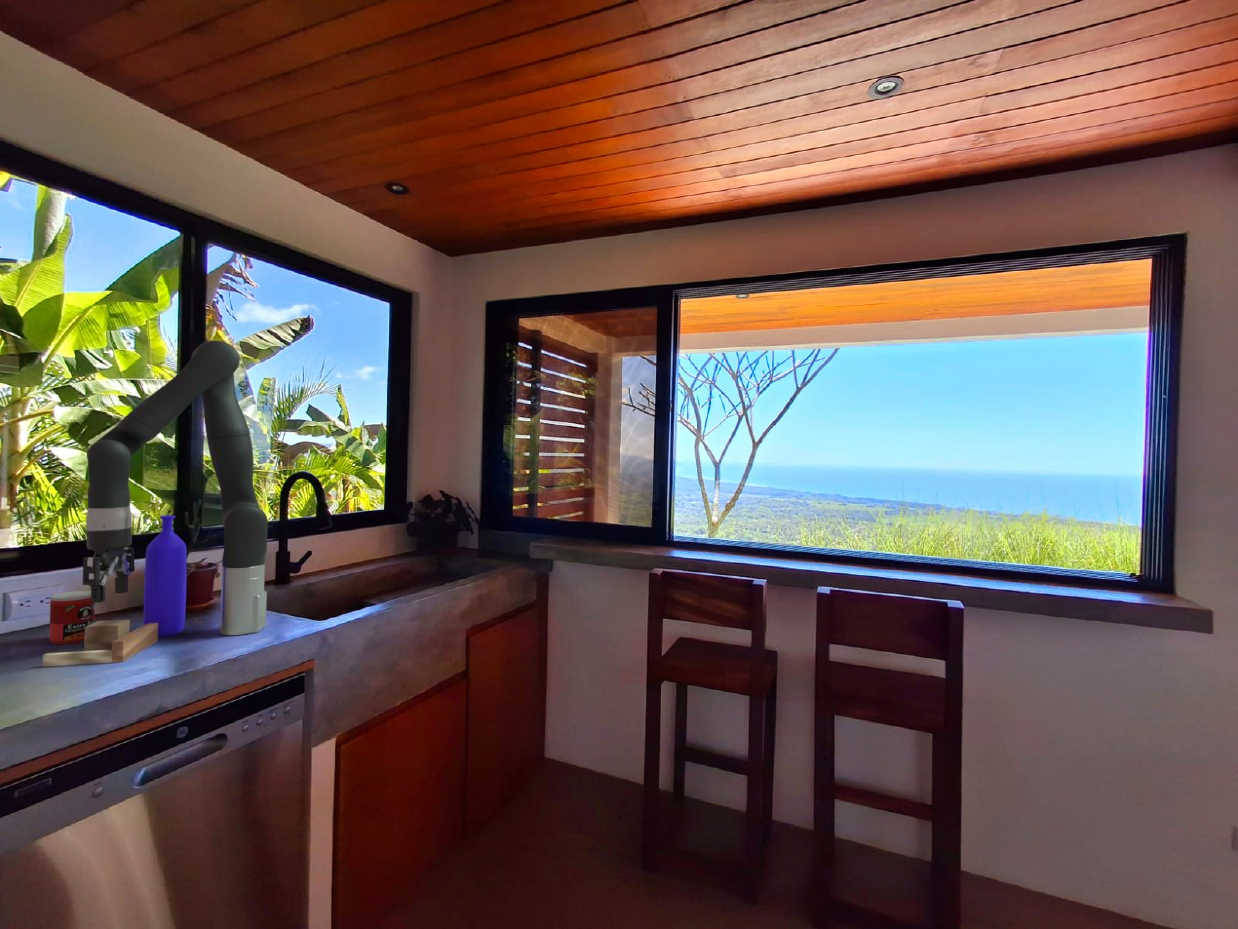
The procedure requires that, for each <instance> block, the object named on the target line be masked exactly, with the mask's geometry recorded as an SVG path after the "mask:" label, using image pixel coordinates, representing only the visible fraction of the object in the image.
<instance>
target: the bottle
mask: <svg viewBox="0 0 1238 929" xmlns="http://www.w3.org/2000/svg"><path fill="white" fill-rule="evenodd" d="M159 518H160V519H161V520H162V528H161V532H160V533H159V534H158V535H157V536H155V537H154V539H153V540H152V541H151V542H150V543H149V544H148V545H147V547H146V552H145V560H144V561H145V562H144V581H143V582H144V583H143V585H144V586H143V587H144V588H143V626H144V625H146V624H148V623H158V638H159V637H167V636H171V635H175V634H179V633H181V632H182V631H183V630H184V628H185V624H186V623H185V622H186V602H187V570H188V568H187V563H188V561H187V560H188V559H187V558H188V557H187V556H188V555H187V545H186V543H185V542H184V540H183V539H182V538H180V536H178V535H177V534H176V533H175V532H174V530H173V520H174V519H175V518H176V515H160V516H159Z"/></svg>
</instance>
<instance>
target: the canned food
mask: <svg viewBox="0 0 1238 929" xmlns="http://www.w3.org/2000/svg"><path fill="white" fill-rule="evenodd" d="M49 603H50V605H49V641H50V643H51V644H53V645H67V644H76V643H80V642H84V639H85V627H86V626H88V625H91V624H93V623H95V612H96V611H95V610H96V606H95V605H96V603H92V602H91V590H77V591H76V590H75V591H68V592H61V593H57V594H54V595H51V596H50V602H49Z"/></svg>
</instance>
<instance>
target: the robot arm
mask: <svg viewBox="0 0 1238 929" xmlns="http://www.w3.org/2000/svg"><path fill="white" fill-rule="evenodd" d="M240 361H241V360H240V355H239V353H238V351H237V349H236V348H235V347H234V346H233V345H231V344H230V343H228V342H226V341H221V340H209V341H208V340H207V341H205V342H203V343H201V344H200V345H199V346H197V347H196V348H195V349H194V350H193V352H192V354H191V358H190V360H189V361H188V362H187V363H186V365H185V366H184V367H183V368H182V369H181V370H180V371H179V372H178V373H177V374H175V376H174V377H173V378H171V379H170V380H169V381H168V382H167V383H165V384H164V385H162V386H161V387H160V388H158V390H156V391H154V392H153V393H151V394H150V396H148V397H147V398H146V399H143V401H142V402H140V403H139V404H138V405H137V406H136V407H135V408H133V409H132V410H131V411H129V413H127V415H125V416H124V417H123V418H122V419H121V421H120V422H118V424H117V425H116V426H114V427H113V428H111V429H110V430H109V431H108V432H106V433H104V435H103V436H101V437H100V438H99V439H97V440H96V441H95V442H94V443H93V444H92V445H90V446H89V447H88V449H87V451H86V459H87V466H88V467H87V468H88V479H89V485H88V488H87V513H86V518H85V520H86V525H85V526H86V549H87V550H91V551H94V554H93V556H89V557H84V558H83V559H82V561H83V563H82V585H83V586H88V587H90V591H91V602H92V603H95V604H97V603H103V602H105V601H106V582H107V579H108V578H109V577H110V576H111V575H112V574H113V575H114V590H115V591H114V592H115V593H116V594H126V593H127V592H129V576H130V575H131V573H134V572H135V569H136V568H135V566H136V565H135V549H134V548H135V547H130V546H132V544H133V542H132V541H133V540H132V539H133V532H132V531H133V528H132V526H133V524H132V512H131V501H130V500H131V498H130V497H131V493H130V485H129V482H130V480H129V479H130V471H131V458H132V457H133V456H134V455H135V454H137V452H138V451H139V450H140V449H141V448H142V447H143V446H145V444H147V443H149V442H151V441H152V440H153V439H155V438H156V437H158V435H160V433H161V432H163V430H165V429H166V428H167V427H168V426H169V425H171V423H172V422H174V421H175V420H176V418H178V416H180V415H181V414H182V413H183V412H184V410H186V409H187V407H188V406H190V404H191V403H192V402H194V401H195V400H196V399H197V398H198V397H199V396H200V395H201V399H202V406H203V408H202V409H203V419H204V428H205V436H206V441H207V446H208V450H209V451H208V452H209V455H210V460H211V464H212V467H213V470H214V473H215V477H216V479H217V483H218V486H219V490H220V496H221V497H220V498H221V500H220V501H221V515H222V518H221V519H222V520H221V521H222V522H221V524H222V527H223V529H224V533H223V554H222V558H221V562H222V563H221V587H220V588H221V593H220V594H221V596H220V624H219V625H220V632H219V633H220V635H224V636H240V635H247V634H252V633H259V632H260V631H261V630H262V629H263V628H265V627H266V626H267V625H266V624H267V601H268V600H267V598H268V597H267V596H268V595H267V594H268V592H267V591H266V590H265V568H266V566H265V565H266V564H265V563H266V555H267V548H268V547H267V546H268V525H269V524H268V517H267V514H266V513H265V511H264V510H263V509H261V508H260V505H259V502H258V499H257V496H256V495H257V494H256V492H255V487H254V450H253V443H252V438H251V435H250V434H251V433H250V429H249V425H248V423H247V420H246V417H245V415H244V412H243V410H242V408H241V406H240V404H239V402H238V401H239V400H238V398H237V394H236V393H237V392H236V386H235V384H236V383H235V373H236V371H237V370H238V368H239V366H240Z"/></svg>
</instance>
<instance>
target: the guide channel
mask: <svg viewBox="0 0 1238 929" xmlns="http://www.w3.org/2000/svg"><path fill="white" fill-rule="evenodd" d="M158 639H159V637H158V623H148V624H146V625H144V624H143V625H142V626H141V627H139V628H136V629H135V630H132V631H129V634H127V635H125V636H123V637H121V638H119V639H117V640H115V641H113V642H112V650H98V651H84V650H83V651H65V652H64V651H63V652H48V653H47V652H46V653H45V654H42V667H45V668H46V667H58V666H59V667H60V666H73V665H75V666H76V665H78V666H79V665H91V664H93V665H94V664H108V663H123V662H125V661H127V660H128V659H130V658H132V657H133V656H135V655H137V654H138V653H140V652H142V651H144V650H145V649H147V648H149V647H150V646H152V645H153V644H156V643H157V642H158V641H159V640H158ZM83 644H84V647H85V639H84V641H83Z"/></svg>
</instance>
